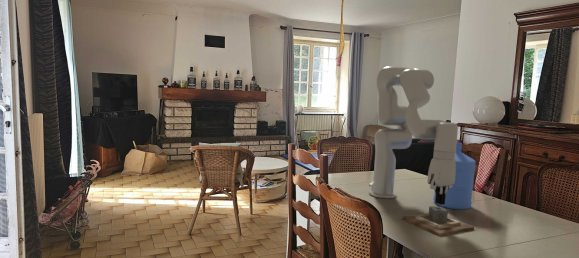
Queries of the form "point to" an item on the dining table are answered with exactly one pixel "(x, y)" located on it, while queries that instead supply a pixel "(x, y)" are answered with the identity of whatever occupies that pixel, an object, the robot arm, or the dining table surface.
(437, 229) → the pocket board
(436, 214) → the dice cube
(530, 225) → the dining table surface
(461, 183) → the water jug
